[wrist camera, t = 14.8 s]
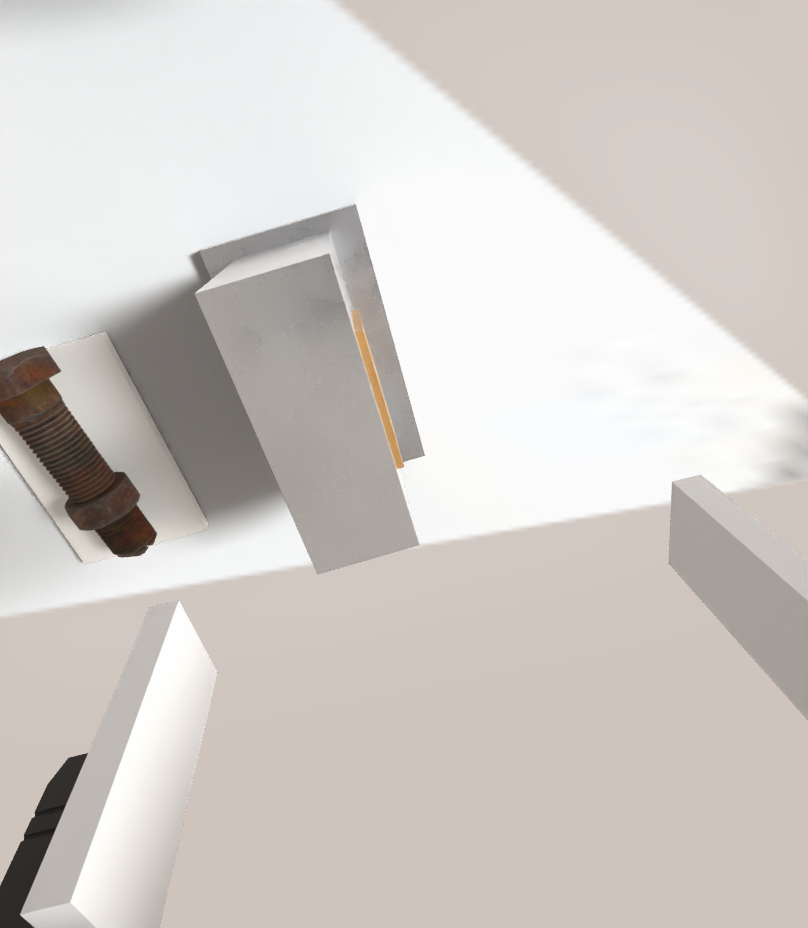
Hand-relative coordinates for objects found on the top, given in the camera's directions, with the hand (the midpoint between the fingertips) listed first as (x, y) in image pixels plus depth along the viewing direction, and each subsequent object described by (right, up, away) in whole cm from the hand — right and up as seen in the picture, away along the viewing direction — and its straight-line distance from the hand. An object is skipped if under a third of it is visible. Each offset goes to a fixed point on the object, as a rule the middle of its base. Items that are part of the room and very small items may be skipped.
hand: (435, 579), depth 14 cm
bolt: (-23, +4, +24) cm, 34 cm away
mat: (-23, +4, +25) cm, 34 cm away
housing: (-6, +10, +24) cm, 27 cm away
